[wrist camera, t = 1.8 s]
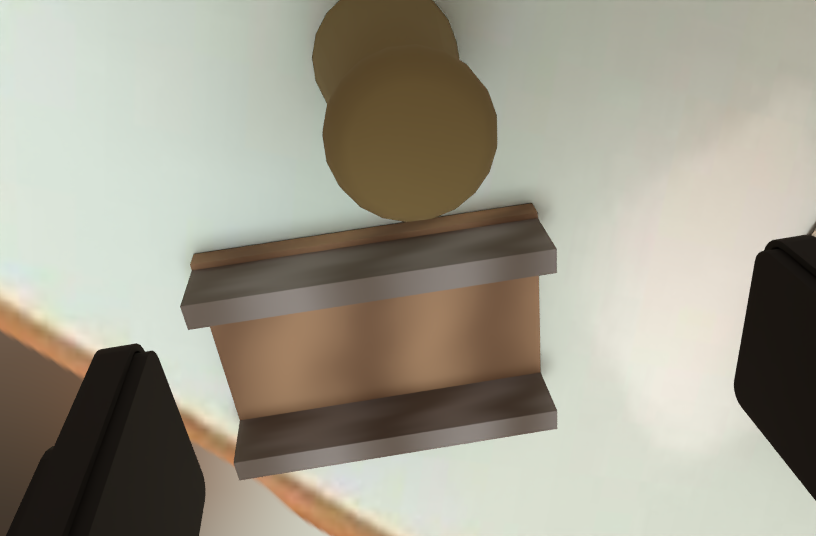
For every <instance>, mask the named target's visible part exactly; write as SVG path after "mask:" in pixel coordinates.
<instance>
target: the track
mask: <svg viewBox="0 0 816 536" xmlns="http://www.w3.org/2000/svg"><path fill="white" fill-rule="evenodd" d="M190 266H191V269H192V272H191V275H190V278H189V281H188V284H187V287H186V290H185V293H184V297H183V300H182V303H181V306H180V307H181V310H182V313H183V316H184V319H185V322H186V325H187V328H188V330H190V329H197V328H203V327H210V328H211V331H212V335H213V338H214V341H215V344H216V347H217V350H218V353H219V356H220V360H221V363H222V366H223V369H224V372H225V375H226V378H227V381H228V385H229V388H230V391H231V394H232V397H233V400H234V403H235V406H236V410H237V413H238V416H239V419H240V424H239V430H238V437H237V444H236V450H235V457H234V466H235V469H236V471H237V474H238V477H239V480H245V479H251V478H257V477H263V476H269V475H275V474H282V473H288V472H294V471H300V470H306V469H312V468H318V467H325V466H331V465H337V464H343V463H349V462H355V461H361V460H368V459H374V458H380V457H386V456H392V455H398V454H404V453H411V452H417V451H423V450H429V449H435V448H441V447H448V446H454V445H460V444H466V443H472V442H478V441H484V440H491V439H497V438H503V437H509V436H515V435H521V434H527V433H534V432H540V431H546V430H552V429H557V409H556V407H555V405H554V402H553V400H552V398H551V396H550V393H549V391H548V389H547V386H546V384H545V382H544V379H543V377H542V375H541V372H540V318H539V276H540V275H546V274H553V273H557V249H556V247H555V245H554V244H553V242H552V241H551V239H550V237H549V236H548V234H547V232H546V231H545V229H544V228H543V226H542V224H541V223H540V221H539V219H538V212H537V211H536V209H535V207H534V206H533V204H532V203H530V204H523V205H516V206H510V207H503V208H496V209H490V210H483V211H477V212H470V213H463V214H457V215H450V216H443V217H437V218H433V219H427V220H419V221H411V222H404V223H397V224H390V225H384V226H377V227H370V228H364V229H357V230H351V231H344V232H337V233H331V234H324V235H317V236H311V237H304V238H298V239H291V240H284V241H278V242H271V243H264V244H258V245H251V246H244V247H238V248H231V249H225V250H218V251H211V252H205V253H198V254H194V255H193V258H192V261H191V264H190Z"/></svg>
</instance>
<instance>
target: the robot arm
mask: <svg viewBox="0 0 816 536" xmlns="http://www.w3.org/2000/svg"><path fill="white" fill-rule="evenodd" d="M734 391H735V395H736V398H737V400H738V403H739V404H740V406H741V407H742V408H743V410H744V411H745V412H746V413H747V415H748V416H749V417H750V418H751V420H752V421H753V422H754V423H755V425H756V426H757V427H758V429H759V430H760V431H761V432H762V434H763V435H764V436H765V437H766V439H767V440H768V441H769V442H770V444H771V445H772V446H773V447H774V449H775V450H776V451H777V452H778V454H779V455H780V456H781V458H782V459H783V460H784V461H785V463H786V464H787V465H788V466H789V468H790V469H791V470H792V471H793V473H794V474H795V475H796V476H797V478H798V479H799V480H800V481H801V483H802V484H803V485H804V487H805V488H806V489H807V490H808V492H809V493H810V494H811V495H812V497H813V498H814V499H815V500H816V229H815V231H814V232H813V234H812V235H801V236H795V237H789V238H783V239H777V240H772V241H771V242H769V243H768V244H767V246H766V247H765V250H764V251H762V252H760V253H758V255H757V256H756V259H755V264H754V270H753V275H752V281H751V287H750V293H749V298H748V304H747V310H746V316H745V321H744V327H743V333H742V339H741V345H740V350H739V356H738V362H737V368H736V373H735V379H734ZM204 502H205V482H204V477H203V473H202V471H201V468H200V465H199V463H198V460H197V457H196V455H195V452H194V450H193V447H192V444H191V442H190V439H189V436H188V434H187V431H186V429H185V426H184V423H183V421H182V418H181V416H180V413H179V410H178V408H177V405H176V402H175V400H174V397H173V395H172V392H171V389H170V387H169V384H168V381H167V379H166V376H165V374H164V371H163V368H162V366H161V363H160V361H159V358H158V356H157V354H156V353H155V352H154V351H147V352H145V351H144V349H143V348H142V347H141V345H139V344H137V343H136V344H130V345H124V346H118V347H112V348H106V349H100V350H98V351H97V352H96V353H95V355H94V357H93V359H92V362H91V364H90V366H89V368H88V371H87V373H86V375H85V378H84V380H83V382H82V384H81V387H80V389H79V391H78V393H77V396H76V398H75V400H74V403H73V405H72V407H71V409H70V412H69V414H68V416H67V419H66V421H65V423H64V425H63V427H62V430H61V432H60V435H59V437H58V439H57V441H56V443H55V446H52V447H51V448H50V449H48V450H47V451H46V452H45V454H44V455H43V457H42V458H41V460H40V462H39V464H38V467H37V469H36V471H35V473H34V475H33V477H32V480H31V482H30V484H29V486H28V488H27V491H26V493H25V495H24V498H23V499H22V502H21V504H20V506H19V508H18V511H17V513H16V515H15V517H14V519H13V522H12V524H11V526H10V529H9V530H8V533H7V535H6V536H199V532H200V526H201V519H202V514H203V508H204Z"/></svg>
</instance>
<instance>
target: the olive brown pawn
mask: <svg viewBox="0 0 816 536" xmlns="http://www.w3.org/2000/svg"><path fill="white" fill-rule="evenodd" d="M312 60H313V67H314V73H315V80H316V82H317V84H318V86H319V88H320V91H321V93H322V95H323V97H324V99H325V101H326V103H327V108H326V114H325V120H324V125H323V142H324V148H325V155H326V161H327V164H328V166H329V167H330V169H331V171H332V173H333V175H334V177H335V179H336V181H337V183H338V185H339V186H340V187H341V188H342V190H343V191H344V192H345V193H346V194H348V195H349V196H350V197H351V198H352V199H353V200H354V201H355V202H356V203H357V204H358V205H359V206H360V207H361V208H363V209H366V210H368V211H370V212H372V213H374V214H376V215H378V216H380V217H382V218H386V219H392V220H398V221H404V222H411V221H419V220H427V219H433V218H435V217H438V216H440V215H442V214H445V213H447V212H449V211H452V210H454V209H456V208H457V207H459V206H460V205H461V204H462V203H463V202H465V201H466V200H467V199H468V198H470V197H471V196H472V195H473V194H474V193H475V192H476V191H477V189H478V188H479V187H480V185H481V184H482V182H483V181H484V179H485V178H486V176H487V175H488V173H489V172H490V169H491V165H492V162H493V159H494V155H495V152H496V149H497V115H496V112H495V109H494V106H493V104H492V101H491V98H490V95H489V93H488V90H487V89H486V88H485V86H484V85H483V84H482V83H481V81H480V80H479V79H478V78H477V77H476V75H475V74H474V73H473V72H472V70H471V69H470V68H469V67H468V66H467V64H465V63H464V62H462V61H460V60H459V54H458V49H457V43H456V39H455V37H454V34H453V31H452V29H451V26H450V23H449V21H448V19H447V18H446V16H445V15H444V14H443V13H442V11H441V10H440V9H439V8H438V6H437V5H436V4H435V3H434V1H432V0H340V1H339V2H338V3H337V4H336V5H335V6H333V7H332V8H331V9H330V10H329V11H328V12H327V14H326V16H325V18H324V20H323V21H322V23H321V25H320V27H319V29H318V31H317V33H316V37H315V43H314V49H313V55H312Z"/></svg>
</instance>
